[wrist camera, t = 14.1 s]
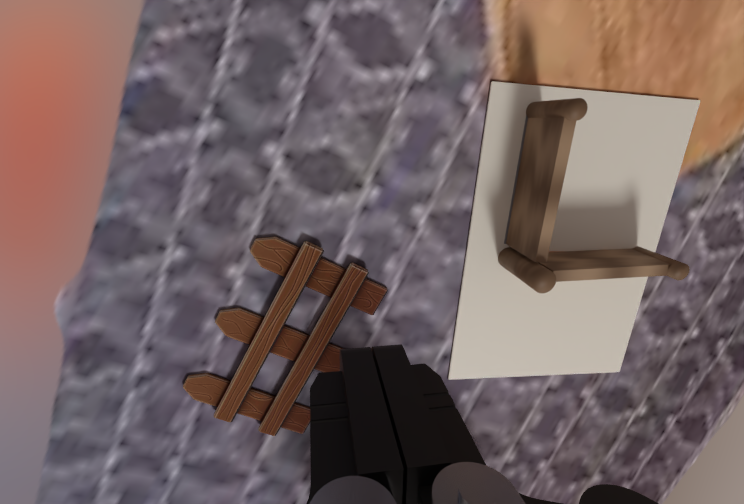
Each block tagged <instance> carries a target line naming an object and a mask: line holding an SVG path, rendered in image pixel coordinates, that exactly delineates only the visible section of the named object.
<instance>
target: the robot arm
mask: <svg viewBox="0 0 744 504" xmlns="http://www.w3.org/2000/svg"><path fill="white" fill-rule="evenodd" d="M310 436H311V490H310V495H309V499H308V501H307V504H562V503H556V502H550V501H544V500H539V499H535V498H530V497H528V496H525V495H522V494H520V493H518V491H517V490H516V488H515V487H514V486H513V484H512V483H511V482H510V481H509V480H508V479H507V478H506V477H505V476H503V475H502V474H501V473H499V472H498V471H496V470H494V469H493V468H490V467H488V466H486V464H485V462H484V460H483V458H482V456H481V455H480V453H479V451H478V449H477V447H476V445H475V443H474V441H473V439H472V437H471V435H470V433H469V431H468V429H467V427H466V425H465V423H464V421H463V420H462V418H461V416H460V414H459V412H458V410H457V409H456V408H455V404H454V402H453V400H452V398H451V396H450V395H449V394H448V390H447V388H446V386H445V385H444V383H443V381H442V379H441V377H440V376H439V375H438V374H437V373H436V372H435V371H433V370H432V369H431V368H430V367H428V366H427V365H426V364H416V365H410V362H409V360H408V358H407V355H406V353H405V350H404V348H403V346H402V345H389V346H376V347H372V348H370V347H365V348H352V349H340V371H335V372H323V373H319V374H318V376H317V377H316V379H315V381H314V382H313V384H312V386H311V387H310ZM579 504H658V503H656V502H654V501H653V500H651V499H649V498H647V497H645V496H643V495H641V494H639V493H637V492H635V491H633V490H630V489H627V488H624V487H620V486H616V485H608V484H606V485H596V486H593V487H591V488H589V489H587V490H586V491H585V492H584V493H583V495H582V496H581V499H580V502H579Z"/></svg>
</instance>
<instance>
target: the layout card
mask: <svg viewBox="0 0 744 504" xmlns="http://www.w3.org/2000/svg"><path fill="white" fill-rule="evenodd" d="M574 98H582V99H584V100H585V101H586V103H587V107H588V108H587V113H586V115H585V116H584V117H583V118H582V119H580V120H577V121H576V125H575V130H574V135H573V140H572V144H571V149H570V154H569V159H568V163H567V168H566V173H565V177H564V182H563V187H562V192H561V196H560V201H559V206H558V210H557V215H556V220H555V225H554V229H553V234H552V239H551V243H550V248H549V252H565V251H587V250H609V249H631V248H634V247H636V246H639V247H642V248H644V249H647V250H650V251H652V252H655V251H656V248H657V245H658V241H659V238H660V234H661V231H662V228H663V224H664V221H665V218H666V214H667V211H668V208H669V204H670V201H671V198H672V194H673V191H674V188H675V184H676V181H677V178H678V174H679V171H680V168H681V164H682V161H683V158H684V154H685V151H686V147H687V144H688V141H689V137H690V134H691V131H692V127H693V124H694V121H695V117H696V114H697V111H698V107H699V104H700V100H689V99H679V98H668V97H657V96H646V95H635V94H624V93H614V92H603V91H592V90H581V89H570V88H559V87H548V86H538V85H527V84H516V83H505V82H494V81H491V84H490V91H489V98H488V105H487V112H486V119H485V126H484V132H483V139H482V146H481V153H480V160H479V167H478V174H477V181H476V188H475V195H474V202H473V208H472V215H471V222H470V229H469V236H468V243H467V250H466V257H465V264H464V271H463V277H462V284H461V291H460V298H459V305H458V312H457V319H456V326H455V333H454V340H453V346H452V353H451V360H450V367H449V374H448V380H450V379H472V378H495V377H517V376H540V375H562V374H585V373H608V372H620V368H621V365H622V362H623V358H624V355H625V352H626V348H627V345H628V342H629V338H630V335H631V331H632V328H633V325H634V321H635V318H636V315H637V311H638V308H639V305H640V301H641V298H642V295H643V291H644V288H645V285H646V281H647V278H648V277H631V278H614V279H597V280H580V281H562V282H556V284H555V286H554V287H553V289H552V290H550V291H549V292H547V293H538V292H536V291H535V290H533V289H532V288H531V287H529V286H528V285H527V284H525V283H524V282H523V281H521V280H520V279H519V278H517V277H516V276H515V275H513V274H512V273H511V272H509V271H508V270H506V269H505V268H504V267H502V266H501V265H500V264H499V262H498V256H499V253H500V252H501V251H502V250H503V249H505V248H507V247H510V246H508V245H507V244H506V241H507V235H508V229H509V223H510V218H511V212H512V206H513V201H514V195H515V189H516V184H517V178H518V172H519V167H520V161H521V155H522V150H523V144H524V138H525V133H526V127H527V121H528V117H527V115H526V109H527V107H528V105H529V104H530V103H532V102H538V101H550V100H562V99H574Z"/></svg>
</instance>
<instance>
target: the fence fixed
mask: <svg viewBox="0 0 744 504" xmlns="http://www.w3.org/2000/svg"><path fill="white" fill-rule="evenodd" d="M587 108H588V107H587V103H586V101H585V100H584V99H582V98H574V99H562V100H550V101H538V102H532V103H530V104H529V105H528V107H527V109H526V115H527V117H528V121H527V127H526V133H525V138H524V144H523V150H522V155H521V161H520V167H519V172H518V178H517V184H516V189H515V195H514V201H513V206H512V212H511V218H510V223H509V229H508V235H507V241H506V244H507V245H508V246H510V247H507V248H505V249H503V250H502V251H501V252H500V253H499V256H498V262H499V264H500V265H501V266H502V267H504V268H505V269H506V270H508V271H509V272H511V273H512V274H513V275H515V276H516V277H517V278H519V279H520V280H521V281H523V282H524V283H525V284H527V285H528V286H529V287H531V288H532V289H533V290H535V291H536V292H538V293H547V292H549V291H550V290H552V289H553V287H554V286H555V284H556V276H555V274H554V273H553V272H552V271H550V270H549V269H547V268H545V267H544V266H542V265H540V264H539V263H537V262H547V258H548V253H549V248H550V243H551V239H552V234H553V229H554V225H555V220H556V215H557V210H558V206H559V201H560V196H561V192H562V187H563V182H564V177H565V173H566V168H567V163H568V159H569V154H570V149H571V144H572V140H573V135H574V130H575V125H576V121H577V120H580V119H582V118H583V117H584V116H585V115H586V113H587Z"/></svg>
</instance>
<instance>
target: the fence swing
mask: <svg viewBox="0 0 744 504" xmlns="http://www.w3.org/2000/svg"><path fill="white" fill-rule="evenodd" d="M537 263H539V264H540V265H542V266H544V267H545V268H547V269H549V270H550V271H552V272H553V273H554V274H555V276H556V282H562V281H580V280H597V279H614V278H631V277H649V276H666V275H667V276H669V277H671V278H674V279H676V280H682V279H684V278H685V277H686V276H687V275H688V273H689V266H688V265H687V264H684V263H681V262H679V261H676V260H673V259H671V258H668V257H666V256H663V255H660V254H658V253H655V252H652V251H650V250H647V249H644V248H642V247H639V246H636V247H634V248H631V249H609V250H587V251H565V252H549V253H548V258H547V262H537Z"/></svg>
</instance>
